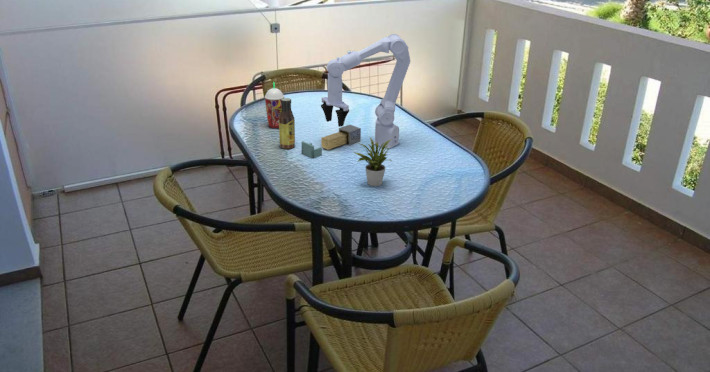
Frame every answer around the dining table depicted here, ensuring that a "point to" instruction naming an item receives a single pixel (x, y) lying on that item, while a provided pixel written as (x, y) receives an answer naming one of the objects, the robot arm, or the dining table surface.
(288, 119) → the sauce bottle
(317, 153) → the socket
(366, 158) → the house plant
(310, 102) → the dining table surface
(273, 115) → the smoothie
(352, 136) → the sleeve
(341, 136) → the block
